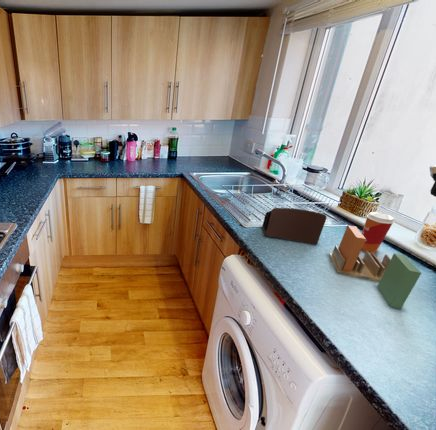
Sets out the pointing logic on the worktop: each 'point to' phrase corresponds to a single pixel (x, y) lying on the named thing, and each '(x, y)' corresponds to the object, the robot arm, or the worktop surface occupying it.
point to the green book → (398, 280)
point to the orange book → (351, 246)
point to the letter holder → (294, 224)
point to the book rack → (361, 265)
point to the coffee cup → (375, 230)
